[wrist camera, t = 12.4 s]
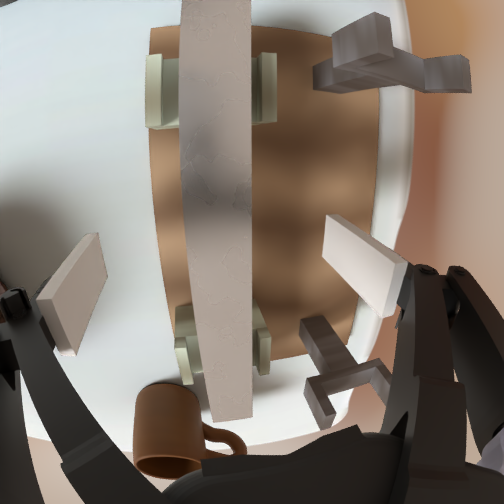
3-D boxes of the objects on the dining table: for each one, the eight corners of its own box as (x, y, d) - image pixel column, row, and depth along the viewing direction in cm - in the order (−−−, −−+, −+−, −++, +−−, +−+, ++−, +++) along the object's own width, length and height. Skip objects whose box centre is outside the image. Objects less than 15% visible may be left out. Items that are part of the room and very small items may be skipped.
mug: (240, 383, 29) (260, 452, 21) (230, 418, 32) (244, 478, 24) (133, 377, 26) (127, 450, 18) (138, 414, 29) (136, 477, 20)
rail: (183, 14, 11) (182, -10, 8) (239, 14, 12) (250, -9, 9) (208, 393, 22) (213, 422, 19) (244, 389, 23) (252, 417, 20)
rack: (152, 32, 15) (122, -58, 4) (370, 51, 18) (477, 27, 7) (181, 365, 27) (190, 469, 16) (343, 339, 30) (397, 416, 19)
